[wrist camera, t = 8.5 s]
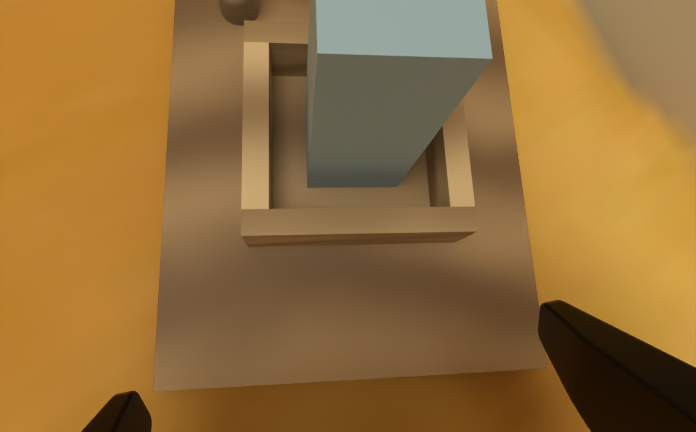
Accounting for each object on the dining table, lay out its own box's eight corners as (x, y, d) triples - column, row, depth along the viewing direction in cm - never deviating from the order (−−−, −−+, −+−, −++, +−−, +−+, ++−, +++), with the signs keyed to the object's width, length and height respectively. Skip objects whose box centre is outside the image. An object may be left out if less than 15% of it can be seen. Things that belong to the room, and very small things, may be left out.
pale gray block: (396, 187, 20) (492, 58, 10) (307, 188, 19) (317, 53, 9) (391, 106, 21) (473, -84, 11) (305, 104, 20) (313, -96, 10)
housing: (532, 365, 20) (593, 377, 16) (162, 386, 18) (122, 407, 14) (483, -13, 24) (520, -80, 20) (184, -29, 22) (159, -106, 18)
